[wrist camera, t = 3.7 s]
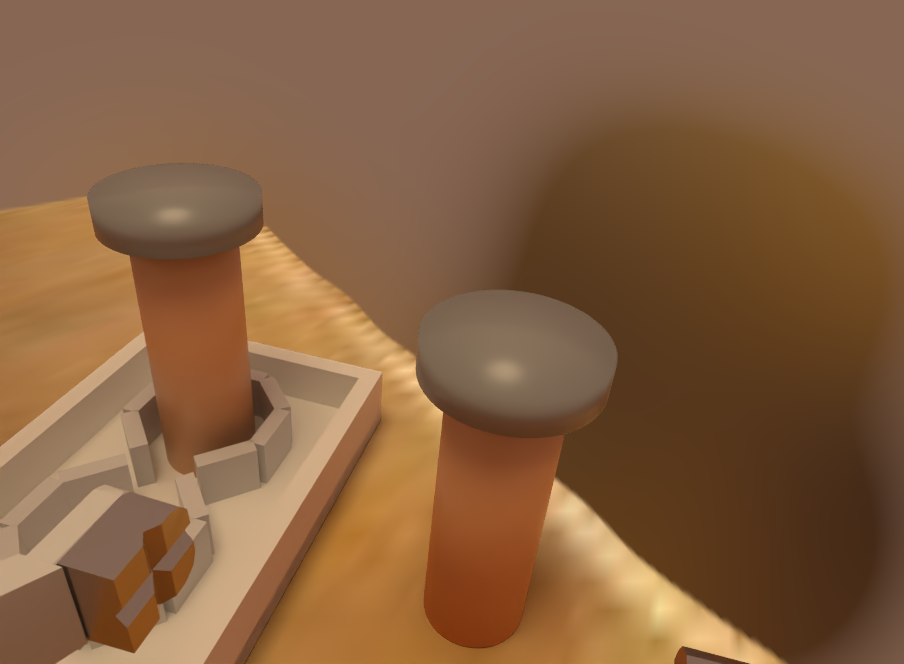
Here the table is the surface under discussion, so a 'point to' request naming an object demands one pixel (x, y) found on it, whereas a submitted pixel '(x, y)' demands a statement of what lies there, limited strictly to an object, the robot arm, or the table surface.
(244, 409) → the grey capped peg
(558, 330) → the brown pin with head
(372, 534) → the table surface
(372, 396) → the housing
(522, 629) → the table surface
